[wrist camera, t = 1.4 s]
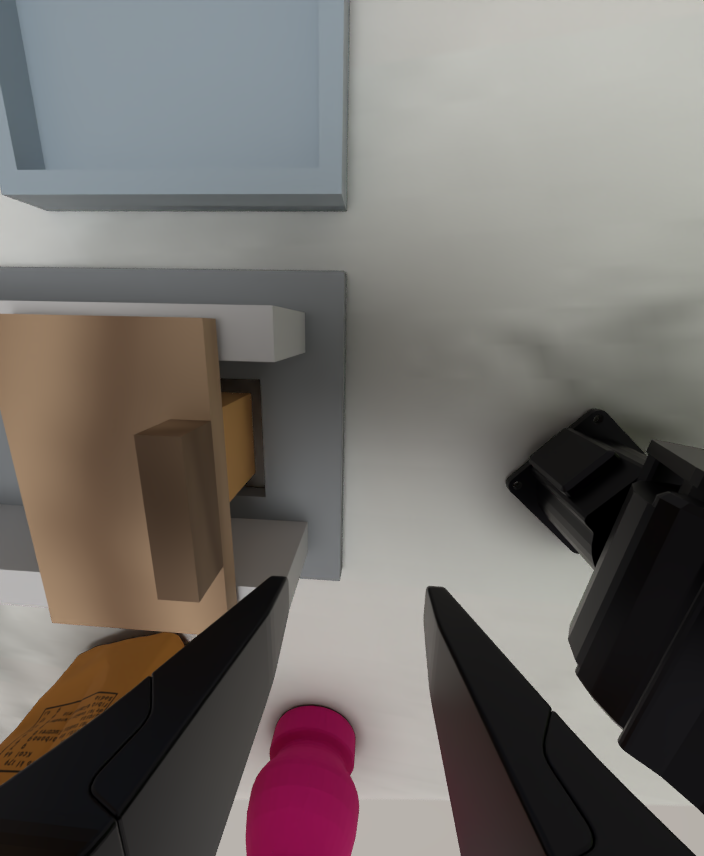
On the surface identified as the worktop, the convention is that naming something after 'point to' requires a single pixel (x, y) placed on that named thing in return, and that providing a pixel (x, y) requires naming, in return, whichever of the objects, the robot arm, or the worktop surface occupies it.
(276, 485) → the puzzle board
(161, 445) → the walnut lid
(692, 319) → the worktop surface
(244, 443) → the orange block
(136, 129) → the slate tray
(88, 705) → the coffee package
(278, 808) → the pepper mill
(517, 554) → the worktop surface
